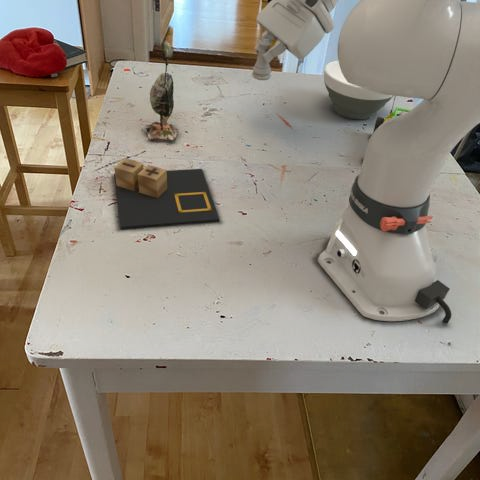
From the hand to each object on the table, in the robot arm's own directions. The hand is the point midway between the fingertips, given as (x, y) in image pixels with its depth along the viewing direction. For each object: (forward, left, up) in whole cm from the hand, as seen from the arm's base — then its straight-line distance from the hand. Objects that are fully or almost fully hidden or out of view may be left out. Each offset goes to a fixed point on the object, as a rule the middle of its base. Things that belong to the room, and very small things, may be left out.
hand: (260, 56), depth 103 cm
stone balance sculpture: (-1, +22, -16) cm, 28 cm away
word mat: (-28, +25, -16) cm, 41 cm away
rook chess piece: (0, -1, -5) cm, 5 cm away
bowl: (+7, -30, -16) cm, 35 cm away
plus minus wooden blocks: (-24, +29, -15) cm, 41 cm away
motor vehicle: (-16, -30, -16) cm, 37 cm away
